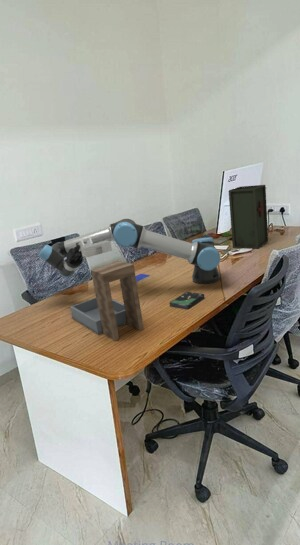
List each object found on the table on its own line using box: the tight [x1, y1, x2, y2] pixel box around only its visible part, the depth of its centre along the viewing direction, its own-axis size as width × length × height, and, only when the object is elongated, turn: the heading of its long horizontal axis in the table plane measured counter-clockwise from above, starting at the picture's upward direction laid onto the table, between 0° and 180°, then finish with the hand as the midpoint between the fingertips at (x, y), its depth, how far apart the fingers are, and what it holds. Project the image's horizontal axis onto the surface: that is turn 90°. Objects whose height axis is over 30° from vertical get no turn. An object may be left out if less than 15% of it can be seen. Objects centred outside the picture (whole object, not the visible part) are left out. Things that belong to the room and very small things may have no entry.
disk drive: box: [169, 291, 205, 311], centre depth 176 cm, size 10×3×15 cm
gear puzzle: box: [201, 232, 232, 241], centre depth 297 cm, size 31×16×4 cm, turn 50°
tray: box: [69, 297, 127, 336], centre depth 170 cm, size 27×18×6 cm, turn 35°
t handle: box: [76, 241, 113, 259], centre depth 160 cm, size 19×12×4 cm, turn 35°
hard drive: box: [135, 273, 151, 283], centre depth 222 cm, size 2×8×12 cm
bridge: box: [90, 260, 145, 342], centre depth 151 cm, size 10×14×28 cm
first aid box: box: [228, 184, 269, 250], centre depth 256 cm, size 18×18×40 cm
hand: (86, 241), depth 160 cm, fingers closed on t handle, 3 cm apart
